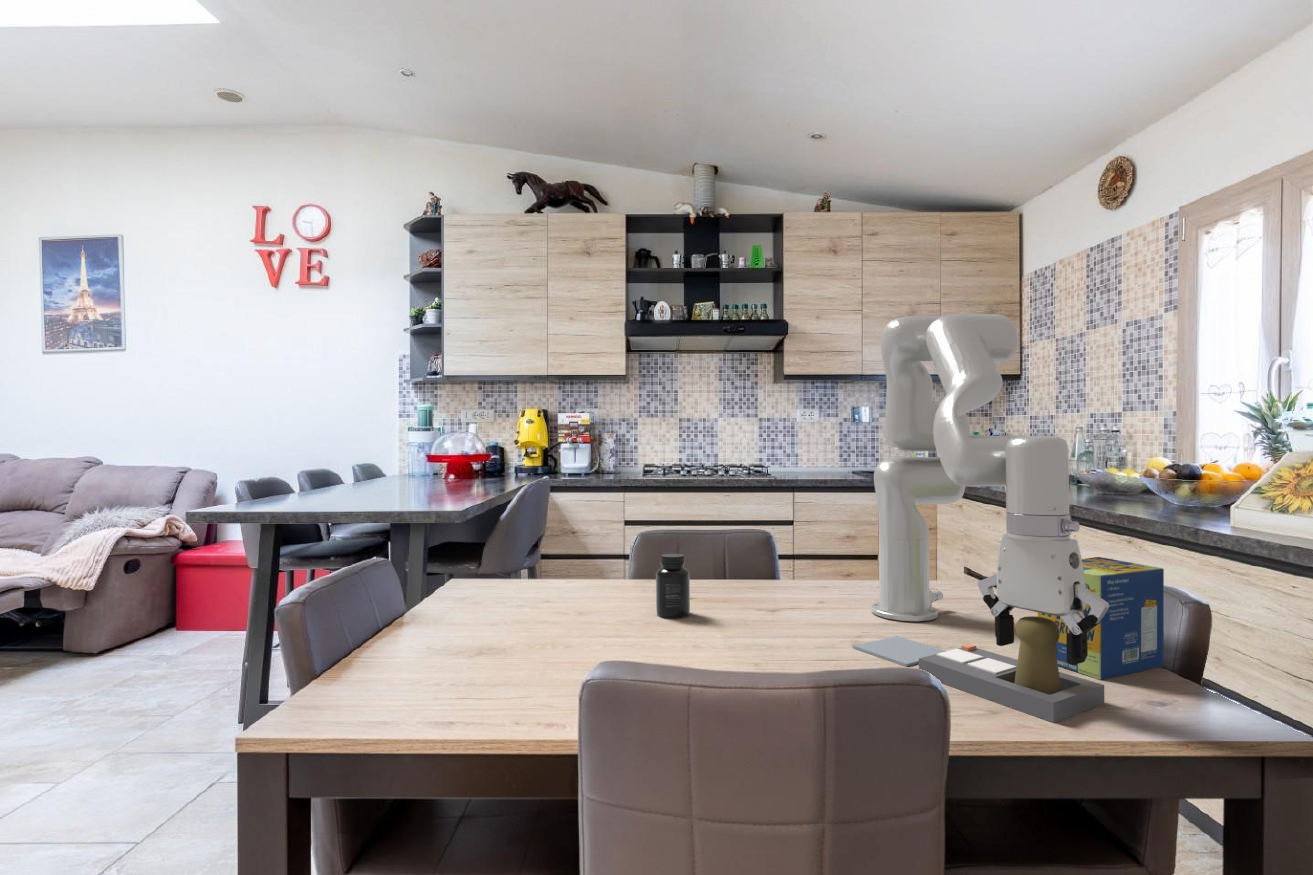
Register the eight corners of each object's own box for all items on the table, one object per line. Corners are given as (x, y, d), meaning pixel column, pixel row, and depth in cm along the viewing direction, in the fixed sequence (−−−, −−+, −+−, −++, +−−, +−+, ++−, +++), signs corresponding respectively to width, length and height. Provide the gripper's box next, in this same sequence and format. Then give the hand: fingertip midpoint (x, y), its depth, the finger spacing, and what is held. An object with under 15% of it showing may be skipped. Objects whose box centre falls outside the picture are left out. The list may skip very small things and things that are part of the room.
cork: (1003, 691, 95) (1003, 613, 95) (1044, 690, 96) (1043, 611, 96) (1030, 708, 89) (1030, 624, 89) (1074, 706, 90) (1073, 623, 90)
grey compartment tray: (969, 661, 108) (969, 642, 108) (1104, 703, 91) (1104, 680, 91) (918, 674, 102) (918, 654, 102) (1053, 722, 85) (1053, 698, 85)
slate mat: (897, 638, 121) (897, 635, 121) (951, 654, 111) (951, 652, 111) (853, 647, 115) (853, 645, 115) (906, 666, 106) (906, 663, 106)
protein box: (1035, 659, 109) (1035, 563, 109) (1099, 647, 115) (1098, 556, 115) (1100, 681, 99) (1100, 575, 99) (1166, 666, 105) (1165, 566, 105)
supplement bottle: (696, 613, 139) (695, 554, 139) (679, 620, 133) (678, 559, 133) (667, 608, 142) (667, 551, 142) (649, 615, 137) (649, 556, 137)
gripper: (1121, 531, 87) (1123, 666, 87) (994, 519, 102) (996, 634, 101) (1089, 535, 83) (1091, 676, 83) (963, 522, 98) (964, 641, 98)
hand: (1039, 653), depth 92 cm, fingers open, 9 cm apart
